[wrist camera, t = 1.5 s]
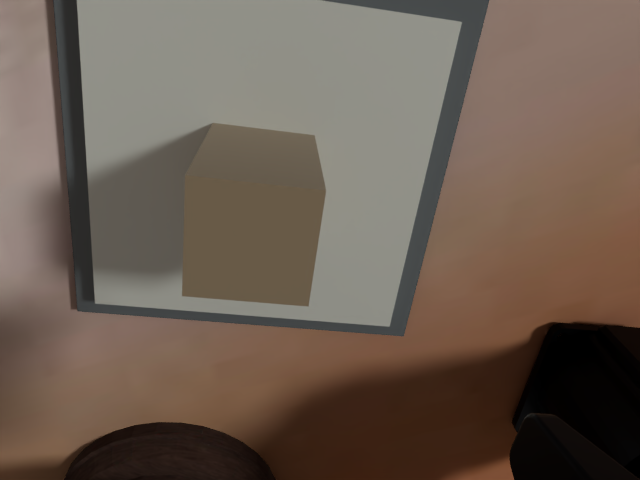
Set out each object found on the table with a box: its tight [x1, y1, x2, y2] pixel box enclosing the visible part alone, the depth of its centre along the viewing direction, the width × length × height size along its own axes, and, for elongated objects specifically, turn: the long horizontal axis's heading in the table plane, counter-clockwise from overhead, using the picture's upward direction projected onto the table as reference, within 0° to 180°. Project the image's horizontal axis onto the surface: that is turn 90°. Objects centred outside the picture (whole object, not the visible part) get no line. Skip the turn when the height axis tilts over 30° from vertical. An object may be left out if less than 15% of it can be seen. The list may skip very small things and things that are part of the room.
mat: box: [53, 0, 489, 336], centre depth 19 cm, size 14×14×1 cm
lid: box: [77, 0, 462, 327], centre depth 16 cm, size 12×12×6 cm
